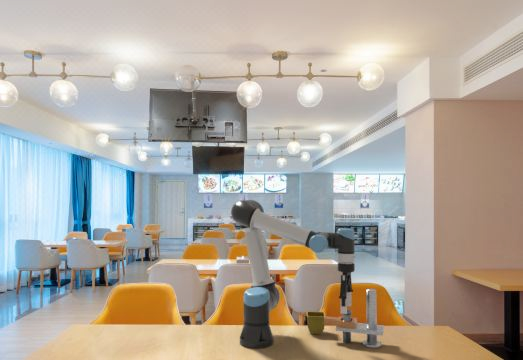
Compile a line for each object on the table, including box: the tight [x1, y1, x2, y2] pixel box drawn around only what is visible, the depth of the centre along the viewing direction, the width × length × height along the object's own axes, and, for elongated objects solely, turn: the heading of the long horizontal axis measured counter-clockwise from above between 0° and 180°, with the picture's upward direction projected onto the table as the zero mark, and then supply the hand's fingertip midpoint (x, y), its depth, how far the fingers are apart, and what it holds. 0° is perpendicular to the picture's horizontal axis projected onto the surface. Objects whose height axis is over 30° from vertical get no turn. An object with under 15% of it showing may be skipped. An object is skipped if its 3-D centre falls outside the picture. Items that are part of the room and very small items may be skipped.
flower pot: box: [306, 311, 326, 335], centre depth 201 cm, size 9×9×9 cm
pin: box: [342, 308, 353, 344], centre depth 188 cm, size 5×5×14 cm
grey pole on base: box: [324, 288, 385, 349], centre depth 188 cm, size 26×10×24 cm, turn 70°
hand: (346, 309), depth 189 cm, fingers open, 13 cm apart
